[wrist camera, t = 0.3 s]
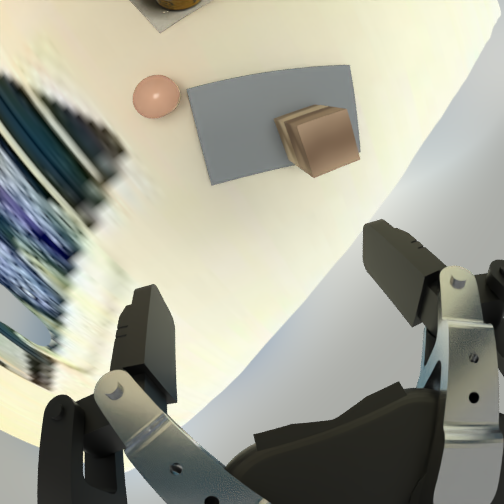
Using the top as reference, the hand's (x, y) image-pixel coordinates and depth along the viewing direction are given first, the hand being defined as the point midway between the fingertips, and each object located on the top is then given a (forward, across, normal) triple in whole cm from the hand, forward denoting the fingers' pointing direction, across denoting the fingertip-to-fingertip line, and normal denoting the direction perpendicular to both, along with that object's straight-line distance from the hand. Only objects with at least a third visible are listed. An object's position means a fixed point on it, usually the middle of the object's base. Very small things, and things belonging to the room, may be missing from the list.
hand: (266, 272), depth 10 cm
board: (+26, -9, -1) cm, 28 cm away
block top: (+21, -11, +1) cm, 23 cm away
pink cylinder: (+26, +4, -8) cm, 28 cm away
